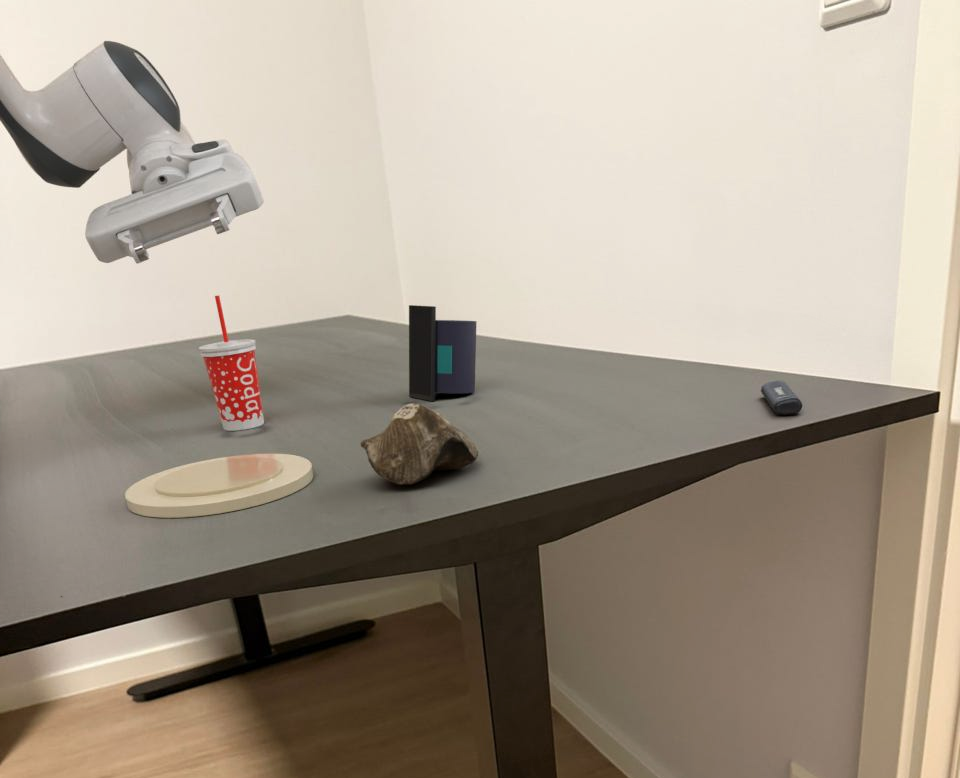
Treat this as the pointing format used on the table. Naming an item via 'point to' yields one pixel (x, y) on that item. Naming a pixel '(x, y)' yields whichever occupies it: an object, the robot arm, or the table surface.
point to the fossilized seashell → (418, 446)
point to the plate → (219, 485)
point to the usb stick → (781, 398)
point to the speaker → (440, 354)
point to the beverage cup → (234, 380)
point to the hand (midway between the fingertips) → (180, 241)
